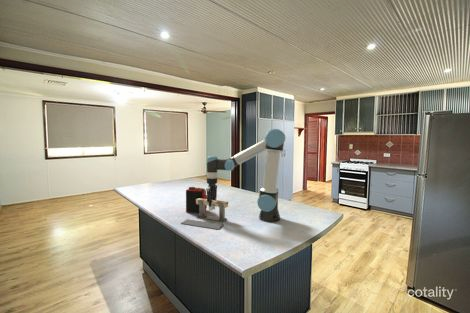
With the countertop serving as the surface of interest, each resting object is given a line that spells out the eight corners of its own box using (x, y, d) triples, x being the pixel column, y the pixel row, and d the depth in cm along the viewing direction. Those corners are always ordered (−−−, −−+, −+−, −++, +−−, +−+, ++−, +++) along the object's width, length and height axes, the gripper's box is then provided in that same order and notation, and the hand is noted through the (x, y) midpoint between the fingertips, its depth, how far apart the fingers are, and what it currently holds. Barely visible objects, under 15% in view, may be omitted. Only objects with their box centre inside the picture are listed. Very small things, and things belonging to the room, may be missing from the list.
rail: (228, 206, 162) (228, 201, 162) (226, 207, 159) (226, 202, 159) (198, 202, 170) (198, 198, 170) (196, 204, 167) (196, 199, 167)
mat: (223, 225, 152) (223, 224, 152) (218, 229, 145) (218, 228, 145) (187, 220, 162) (187, 219, 162) (180, 223, 154) (180, 223, 154)
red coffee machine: (207, 210, 185) (208, 186, 183) (202, 214, 175) (202, 188, 174) (190, 208, 189) (190, 184, 188) (184, 212, 179) (184, 187, 178)
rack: (226, 219, 164) (226, 201, 164) (223, 222, 159) (223, 203, 158) (200, 215, 172) (201, 198, 171) (197, 218, 166) (197, 200, 165)
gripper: (212, 175, 172) (212, 206, 174) (201, 179, 157) (201, 212, 158) (221, 176, 170) (221, 207, 171) (211, 180, 154) (211, 213, 156)
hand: (211, 209), depth 165 cm, fingers closed on rail, 3 cm apart
